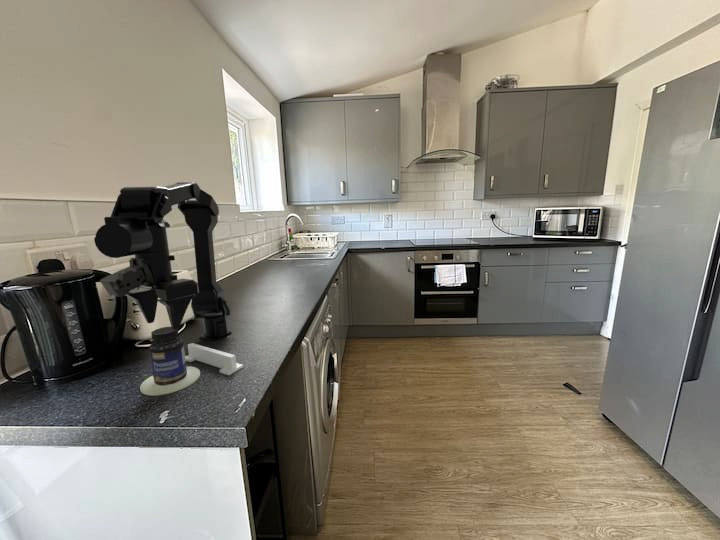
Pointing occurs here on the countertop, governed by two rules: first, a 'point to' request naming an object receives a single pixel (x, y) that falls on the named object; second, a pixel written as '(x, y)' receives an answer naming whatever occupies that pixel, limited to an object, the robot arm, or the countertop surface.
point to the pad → (154, 390)
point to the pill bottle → (167, 356)
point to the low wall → (213, 358)
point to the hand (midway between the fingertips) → (163, 325)
